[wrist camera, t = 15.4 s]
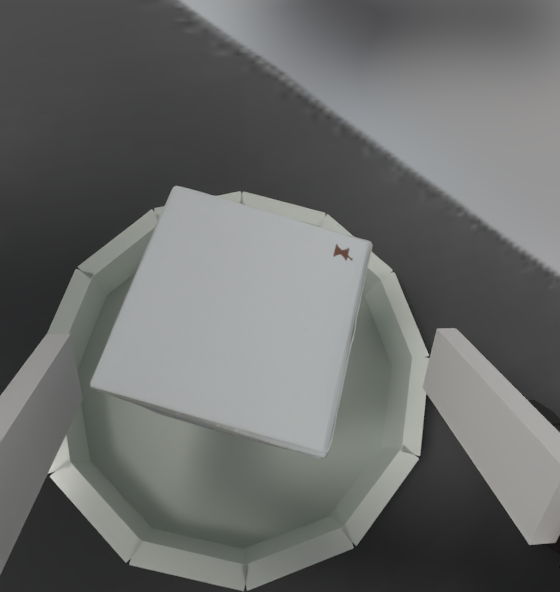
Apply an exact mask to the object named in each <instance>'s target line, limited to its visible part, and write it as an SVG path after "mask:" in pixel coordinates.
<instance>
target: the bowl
mask: <svg viewBox="0 0 560 592" xmlns="http://www.w3.org/2000/svg"><path fill="white" fill-rule="evenodd" d="M217 197H220V198H223V199H227V200H230V201H233V202H237V203H240V204H244V205H247V206H251V207H254V208H258V209H261V210H264V211H268V212H271V213H274V214H278V215H281V216H285V217H288V218H291V219H295V220H298V221H301V222H305V223H308V224H312V225H315V226H319V227H322V228H325V229H329V230H332V231H335V232H339V233H342V234H345V235H349V236H353V235H351V234H350V233H349V232H348V231H347V230H346V229H344V228H343V227H342V226H341V225H340V224H339V223H337V222H336V221H335V220H334V219H333V218H332V217H330V216H329V215H328V214H327V215H326V216H325V213H324V212H320V211H316V210H312V209H309V208H305V207H301V206H297V205H293V204H290V203H286V202H282V201H278V200H274V199H271V198H267V197H263V196H259V195H255V194H251V193H248V192H244V191H243V193H242V194H241V191H239V192H234V193H229V194H224V195H219V196H217ZM163 209H164V206H163V207H158V208H154V210H155V212H154V211H153V210H152V209H151V210H150V211H149V212H148V213H146V214H145V215H144V216H142V217H141V218H140V219H138V220H137V221H136V222H135V223H133V224H132V225H131V226H129V227H128V228H127V229H126V230H124V231H123V232H122V233H120V234H119V235H118V236H116V237H115V238H114V239H113V240H111V241H110V242H109V243H107V244H106V245H105V246H104V247H102V248H101V249H100V250H98V251H97V252H96V253H95V254H93V255H92V256H91V257H89V258H88V259H87V260H85V261H84V262H83V263H82V264H80V265H79V266H78V268H79V269H80V270H78V269H75V272H74V274H73V276H72V278H71V281H70V283H69V285H68V287H67V290H66V292H65V294H64V296H63V299H62V301H61V303H60V306H59V308H58V310H57V312H56V315H55V317H54V319H53V321H52V324H51V326H50V328H49V330H48V333H47V334H71V339H72V344H73V350H74V355H75V360H76V366H77V371H78V376H79V381H80V387H81V392H82V397H83V400H82V402H81V404H80V406H79V408H78V410H77V412H76V414H75V417H74V419H73V421H72V423H71V425H70V427H69V429H68V432H67V434H66V436H65V438H64V440H63V442H62V444H61V447H60V449H59V451H58V453H57V455H56V457H55V459H54V461H53V464H52V466H51V468H50V470H49V472H48V474H49V473H53V474H52V475H51V476H50V478H51V479H52V480H53V481H54V482H55V483H56V484H57V486H58V487H59V488H60V489H61V490H62V491H63V492H64V494H65V495H66V496H67V497H68V498H69V499H70V500H71V501H72V503H73V504H74V505H75V506H76V507H77V508H78V509H79V510H80V512H81V513H82V514H83V515H84V516H85V517H86V518H87V520H88V521H89V522H90V523H91V524H92V525H93V526H94V527H95V529H96V530H97V531H98V532H99V533H100V534H101V535H102V537H103V538H104V539H105V540H106V541H107V542H108V543H109V544H110V546H111V547H112V548H113V549H114V550H115V551H116V552H117V553H118V555H119V556H120V557H121V558H122V559H123V560H124V561H125V563H127V561H128V560H129V559H130V558H131V560H130V563H129V565H132V566H136V567H140V568H145V569H149V570H153V571H158V572H162V573H167V574H171V575H175V576H180V577H184V578H188V579H193V580H197V581H201V582H206V583H210V584H214V585H219V586H223V587H228V588H232V589H236V590H241V591H244V588H245V584H246V588H247V591H248V590H251V589H253V588H256V587H258V586H261V585H263V584H266V583H268V582H271V581H273V580H276V579H278V578H281V577H283V576H286V575H288V574H291V573H293V572H296V571H298V570H301V569H303V568H306V567H308V566H311V565H313V564H316V563H318V562H321V561H323V560H326V559H328V558H331V557H333V556H336V555H338V554H341V553H343V552H346V551H348V550H351V549H353V548H354V547H353V544H354V545H356V546H357V545H358V543H359V542H360V541H361V539H362V538H363V536H364V535H365V534H366V532H367V531H368V529H369V528H370V527H371V525H372V524H373V522H374V521H375V520H376V518H377V517H378V515H379V514H380V513H381V511H382V510H383V509H384V507H385V506H386V504H387V503H388V502H389V500H390V499H391V497H392V496H393V495H394V493H395V492H396V490H397V489H398V488H399V486H400V485H401V483H402V482H403V481H404V479H405V478H406V476H407V475H408V474H409V472H410V471H411V470H412V468H413V467H414V465H415V464H416V463H417V461H418V460H419V458H418V457H416V456H420V452H421V442H422V432H423V421H424V411H425V401H426V392H425V391H424V389H423V388H422V387H423V383H424V379H425V375H426V371H427V367H428V363H429V359H430V358H426V357H427V356H429V354H428V352H427V349H426V347H425V344H424V342H423V340H422V337H421V335H420V332H419V330H418V328H417V325H416V323H415V320H414V318H413V316H412V313H411V311H410V308H409V306H408V304H407V301H406V299H405V296H404V294H403V292H402V289H401V287H400V284H399V282H398V280H397V277H396V275H395V272H393V273H391V272H392V271H393V270H392V269H391V268H390V267H389V266H388V265H386V264H385V263H384V262H383V261H382V260H381V259H379V258H378V257H377V256H376V255H375V254H374V253H372V252H371V255H370V259H369V264H368V269H367V274H366V278H365V283H364V287H363V292H362V297H361V302H360V307H359V311H358V316H357V321H356V331H355V335H354V339H353V343H352V347H351V351H350V356H349V360H348V365H347V370H346V375H345V380H344V384H343V389H342V394H341V399H340V404H339V409H338V414H337V420H336V425H335V429H334V433H333V438H332V444H331V448H330V451H329V453H328V455H327V457H326V458H323V459H318V458H315V457H312V456H308V455H305V454H301V453H298V452H295V451H291V450H286V449H282V448H278V447H274V446H271V445H267V444H263V443H259V442H256V441H252V440H248V439H244V438H240V437H237V436H233V435H229V434H226V433H222V432H219V431H215V430H212V429H208V428H205V427H201V426H198V425H194V424H191V423H188V422H184V421H181V420H177V419H174V418H170V417H167V416H164V415H160V414H157V413H155V412H153V411H150V410H148V409H146V408H144V407H141V406H139V405H137V404H134V403H131V402H128V401H125V400H122V399H119V398H117V397H114V396H112V395H109V394H106V393H103V392H100V391H98V390H95V389H93V388H91V386H90V381H91V379H92V377H93V375H94V372H95V370H96V368H97V365H98V363H99V360H100V358H101V355H102V353H103V351H104V348H105V346H106V343H107V341H108V338H109V336H110V334H111V331H112V329H113V326H114V324H115V322H116V319H117V317H118V314H119V312H120V309H121V307H122V305H123V302H124V300H125V298H126V295H127V293H128V291H129V288H130V286H131V284H132V281H133V279H134V276H135V274H136V272H137V269H138V267H139V265H140V262H141V260H142V258H143V255H144V253H145V251H146V248H147V246H148V243H149V241H150V239H151V236H152V234H153V232H154V229H155V227H156V224H157V222H158V220H159V218H160V216H161V213H162V211H163ZM353 237H354V236H353ZM352 543H353V544H352Z"/></svg>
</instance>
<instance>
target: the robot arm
mask: <svg viewBox="0 0 560 592" xmlns="http://www.w3.org/2000/svg"><path fill="white" fill-rule="evenodd" d="M422 388H423V389H424V391H425V392H426V393H427V395H428V396H429V398H430V399H431V401H432V402H433V404H434V405H435V407H436V408H437V410H438V411H439V413H440V414H441V416H442V417H443V419H444V420H445V421H446V423H447V424H448V426H449V427H450V429H451V430H452V432H453V433H454V435H455V436H456V438H457V439H458V441H459V442H460V444H461V445H462V447H463V448H464V449H465V451H466V452H467V454H468V455H469V457H470V458H471V460H472V461H473V463H474V464H475V466H476V467H477V469H478V470H479V472H480V473H481V475H482V476H483V477H484V479H485V480H486V482H487V483H488V485H489V486H490V488H491V489H492V491H493V492H494V494H495V495H496V497H497V498H498V500H499V501H500V503H501V504H502V506H503V507H504V508H505V510H506V511H507V513H508V514H509V516H510V517H511V519H512V520H513V522H514V523H515V525H516V526H517V528H518V529H519V531H520V532H521V534H522V535H523V536H524V538H525V539H526V541H527V542H528V544H529V545H536V544H547V543H556V541H557V539H558V537H559V535H560V418H558V417H557V416H556V415H555V414H554V413H553V412H552V411H551V410H550V409H548V408H546V407H545V406H543V405H541V404H540V403H538V402H537V401H535V400H527V399H526V398H525V397H524V396H523V395H522V394H521V393H520V392H519V391H518V390H517V389H516V388H515V387H514V386H513V385H512V384H511V383H510V382H509V381H508V380H507V379H506V378H505V377H504V376H503V375H502V374H501V373H500V372H499V371H498V370H497V369H496V368H495V367H494V366H493V365H492V364H491V363H490V362H489V361H488V360H487V359H486V358H485V357H484V356H483V355H482V354H481V353H480V352H479V351H478V350H477V349H476V348H475V347H474V346H473V345H472V344H471V343H470V342H469V341H468V340H467V339H466V338H465V337H464V336H463V335H462V334H461V333H460V332H459V331H458V330H457V329H456V328H442V329H437V330H436V334H435V338H434V343H433V347H432V351H431V355H430V359H429V363H428V367H427V371H426V375H425V379H424V383H423V387H422ZM82 400H83V397H82V392H81V387H80V381H79V376H78V371H77V366H76V360H75V355H74V350H73V344H72V339H71V334H46V335H45V337H44V338H43V339H42V341H41V342H40V343H39V345H38V346H37V347H36V349H35V350H34V351H33V353H32V354H31V355H30V357H29V358H28V359H27V361H26V362H25V363H24V365H23V366H22V367H21V369H20V370H19V372H18V373H17V374H16V376H15V377H14V378H13V380H12V381H11V382H10V384H9V385H8V386H7V388H6V389H5V390H4V392H3V393H2V394H1V396H0V575H1V573H2V570H3V568H4V566H5V564H6V562H7V560H8V558H9V555H10V553H11V551H12V549H13V547H14V545H15V543H16V541H17V538H18V536H19V534H20V532H21V530H22V528H23V526H24V523H25V521H26V519H27V517H28V515H29V513H30V511H31V508H32V506H33V504H34V502H35V500H36V498H37V496H38V494H39V491H40V489H41V487H42V485H43V483H44V481H45V479H46V476H47V474H48V472H49V470H50V468H51V466H52V464H53V461H54V459H55V457H56V455H57V453H58V451H59V449H60V447H61V444H62V442H63V440H64V438H65V436H66V434H67V432H68V429H69V427H70V425H71V423H72V421H73V419H74V417H75V414H76V412H77V410H78V408H79V406H80V404H81V402H82ZM559 568H560V567H559Z"/></svg>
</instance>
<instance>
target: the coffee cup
mask: <svg viewBox="0 0 560 592" xmlns="http://www.w3.org/2000/svg"><path fill="white" fill-rule="evenodd" d="M548 544H549V545H550V546H551V547H552V548H553V549H554V550H556V551H558V552H559V553H560V535H559V537H558V539H557V541H556V543H548Z"/></svg>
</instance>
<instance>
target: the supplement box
mask: <svg viewBox="0 0 560 592" xmlns="http://www.w3.org/2000/svg"><path fill="white" fill-rule="evenodd" d="M372 246H373V245H372V243H371V241H368V240H364V239H360V238H357V237H353V236H349V235H345V234H342V233H339V232H335V231H332V230H329V229H325V228H322V227H319V226H315V225H312V224H308V223H305V222H301V221H298V220H295V219H291V218H288V217H285V216H281V215H278V214H274V213H271V212H268V211H264V210H261V209H258V208H254V207H251V206H247V205H244V204H240V203H237V202H233V201H230V200H227V199H223V198H220V197H217V196H213V195H209V194H207V193H203V192H199V191H196V190H192V189H189V188H184V187H180V186H174V187H173V188H172V191H171V193H170V195H169V197H168V200H167V202H166V204H165V206H164V209H163V211H162V213H161V216H160V218H159V220H158V222H157V224H156V227H155V229H154V232H153V234H152V236H151V239H150V241H149V243H148V246H147V248H146V251H145V253H144V255H143V258H142V260H141V262H140V265H139V267H138V269H137V272H136V274H135V276H134V279H133V281H132V284H131V286H130V288H129V291H128V293H127V295H126V298H125V300H124V302H123V305H122V307H121V309H120V312H119V314H118V317H117V319H116V322H115V324H114V326H113V329H112V331H111V334H110V336H109V338H108V341H107V343H106V346H105V348H104V351H103V353H102V355H101V358H100V360H99V363H98V365H97V368H96V370H95V372H94V375H93V377H92V379H91V381H90V386H91V388H93V389H95V390H98V391H100V392H103V393H106V394H109V395H112V396H114V397H117V398H119V399H122V400H125V401H128V402H131V403H134V404H137V405H139V406H141V407H144V408H146V409H148V410H150V411H153V412H155V413H157V414H160V415H164V416H167V417H170V418H174V419H177V420H181V421H184V422H188V423H191V424H194V425H198V426H201V427H205V428H208V429H212V430H215V431H219V432H222V433H226V434H229V435H233V436H237V437H240V438H244V439H248V440H252V441H256V442H259V443H263V444H267V445H271V446H274V447H278V448H282V449H286V450H291V451H295V452H298V453H301V454H305V455H308V456H312V457H315V458H318V459H323V458H326V457H327V455H328V453H329V451H330V448H331V444H332V438H333V433H334V429H335V425H336V420H337V414H338V409H339V404H340V399H341V394H342V389H343V384H344V380H345V375H346V370H347V365H348V360H349V356H350V351H351V347H352V343H353V339H354V335H355V331H356V321H357V316H358V311H359V307H360V302H361V297H362V292H363V287H364V283H365V278H366V274H367V269H368V264H369V259H370V255H371V251H372Z"/></svg>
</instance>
